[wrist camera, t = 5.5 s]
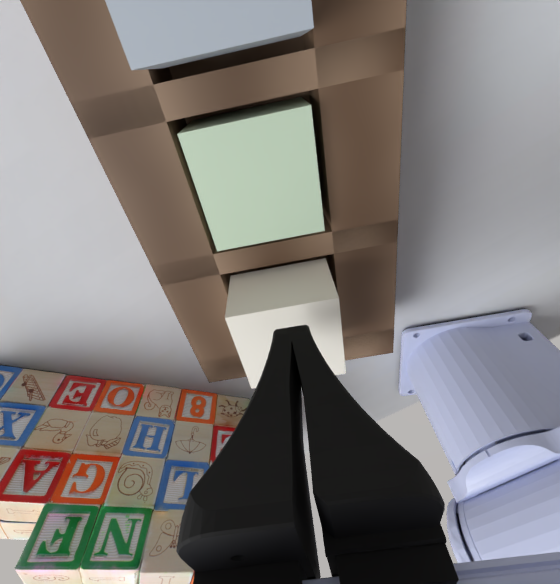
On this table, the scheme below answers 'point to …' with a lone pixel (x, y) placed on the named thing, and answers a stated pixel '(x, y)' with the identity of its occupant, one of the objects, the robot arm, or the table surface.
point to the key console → (232, 97)
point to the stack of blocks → (103, 474)
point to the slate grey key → (203, 27)
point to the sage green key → (256, 173)
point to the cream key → (284, 312)
